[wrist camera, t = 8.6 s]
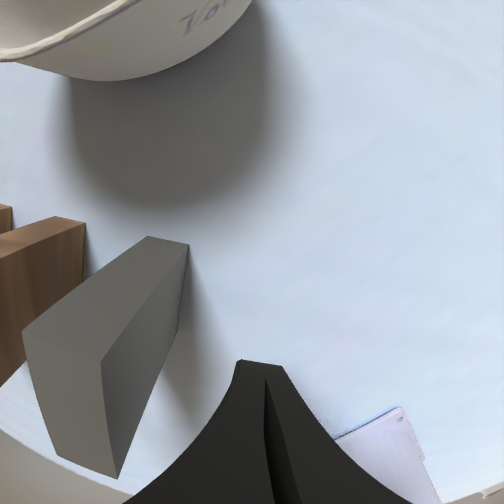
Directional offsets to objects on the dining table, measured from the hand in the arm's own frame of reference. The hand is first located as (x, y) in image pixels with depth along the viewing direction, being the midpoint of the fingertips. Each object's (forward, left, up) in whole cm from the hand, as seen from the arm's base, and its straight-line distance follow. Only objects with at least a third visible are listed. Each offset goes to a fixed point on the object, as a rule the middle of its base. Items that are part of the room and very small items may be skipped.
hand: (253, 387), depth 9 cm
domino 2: (+3, +3, -6) cm, 7 cm away
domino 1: (+7, +7, -6) cm, 11 cm away
